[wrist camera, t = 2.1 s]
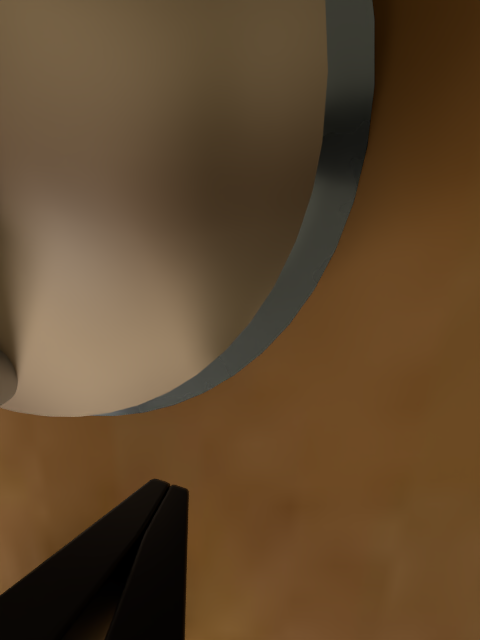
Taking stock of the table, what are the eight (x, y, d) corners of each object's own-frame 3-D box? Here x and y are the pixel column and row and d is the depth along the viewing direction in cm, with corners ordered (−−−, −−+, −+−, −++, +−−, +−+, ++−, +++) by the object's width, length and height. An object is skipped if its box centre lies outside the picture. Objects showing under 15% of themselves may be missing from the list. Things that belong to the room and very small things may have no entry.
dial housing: (32, -772, 6) (-44, -1026, 4) (498, 231, 9) (525, 239, 8) (-310, 52, 12) (-380, 37, 11) (43, 462, 15) (20, 486, 14)
